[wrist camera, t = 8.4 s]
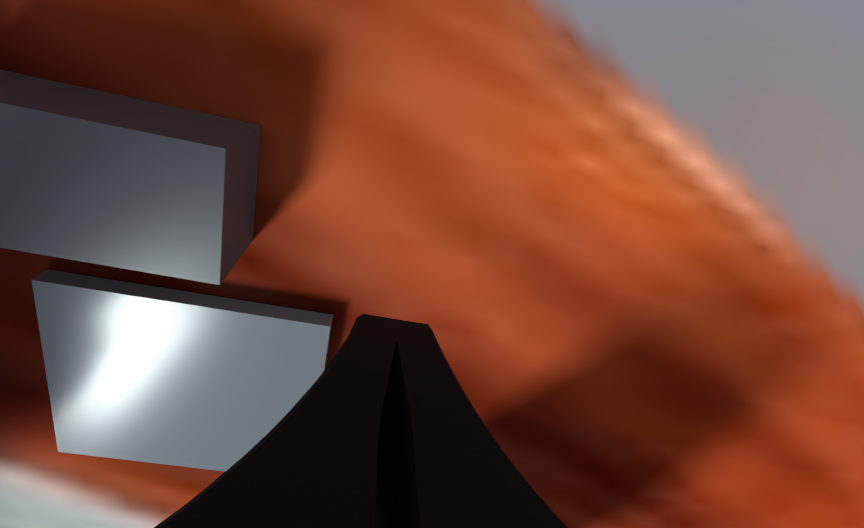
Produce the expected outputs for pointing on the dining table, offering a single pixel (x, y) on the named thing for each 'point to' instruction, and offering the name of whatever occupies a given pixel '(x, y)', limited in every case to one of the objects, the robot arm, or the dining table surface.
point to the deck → (170, 369)
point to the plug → (124, 180)
